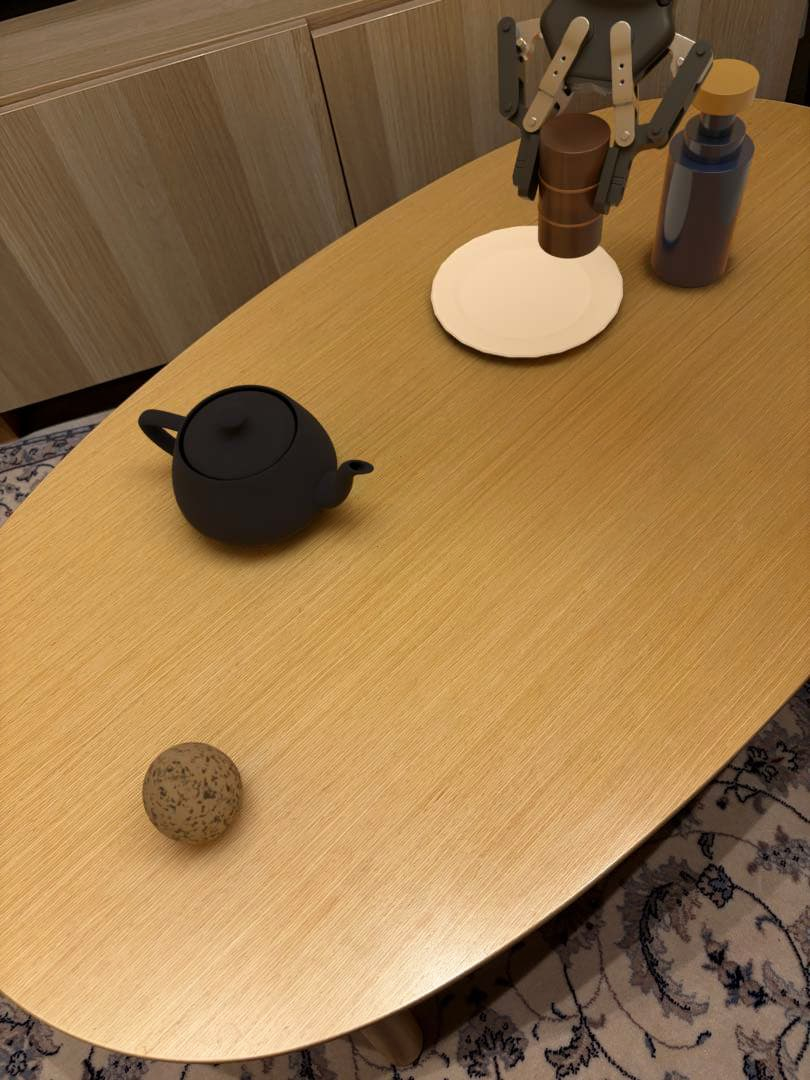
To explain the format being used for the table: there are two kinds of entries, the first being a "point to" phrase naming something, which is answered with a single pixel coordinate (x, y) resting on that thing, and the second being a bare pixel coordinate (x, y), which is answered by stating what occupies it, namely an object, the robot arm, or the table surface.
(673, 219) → the bottle
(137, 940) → the table surface
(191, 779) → the decorative egg
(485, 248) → the plate
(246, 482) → the teapot
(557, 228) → the brown ridged cylinder
